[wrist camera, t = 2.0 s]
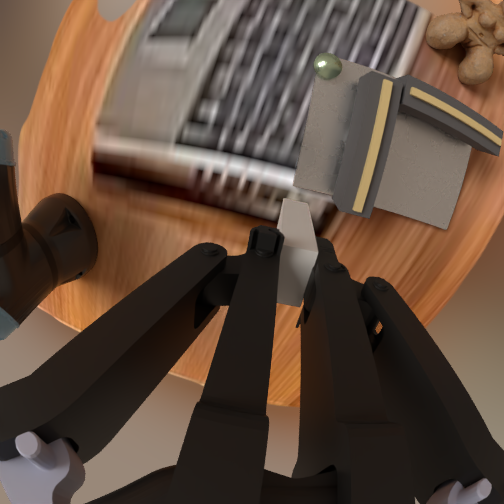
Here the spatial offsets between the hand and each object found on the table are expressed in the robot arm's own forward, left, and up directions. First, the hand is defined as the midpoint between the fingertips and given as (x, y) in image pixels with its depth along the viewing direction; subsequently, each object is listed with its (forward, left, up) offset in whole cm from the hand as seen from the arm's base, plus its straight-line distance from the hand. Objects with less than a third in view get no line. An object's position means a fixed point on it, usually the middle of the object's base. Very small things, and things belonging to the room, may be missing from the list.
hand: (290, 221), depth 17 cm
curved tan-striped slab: (+16, +12, -14) cm, 25 cm away
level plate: (+12, +7, -16) cm, 21 cm away
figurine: (+19, +26, -16) cm, 36 cm away
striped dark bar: (+7, +6, -14) cm, 17 cm away
